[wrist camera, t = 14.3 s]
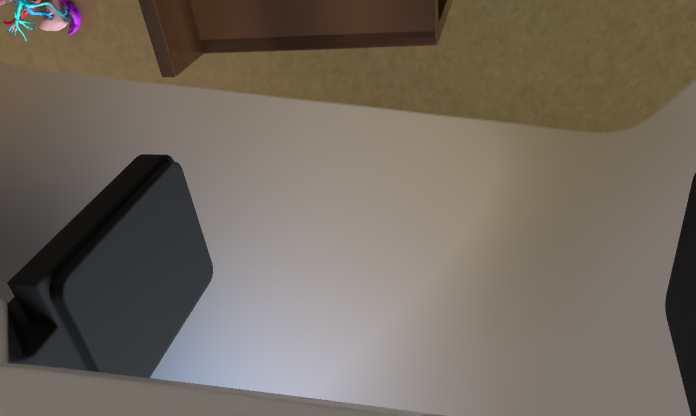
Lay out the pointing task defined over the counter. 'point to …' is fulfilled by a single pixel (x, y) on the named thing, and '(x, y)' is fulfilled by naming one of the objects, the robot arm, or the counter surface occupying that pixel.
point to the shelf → (285, 26)
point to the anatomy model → (46, 15)
